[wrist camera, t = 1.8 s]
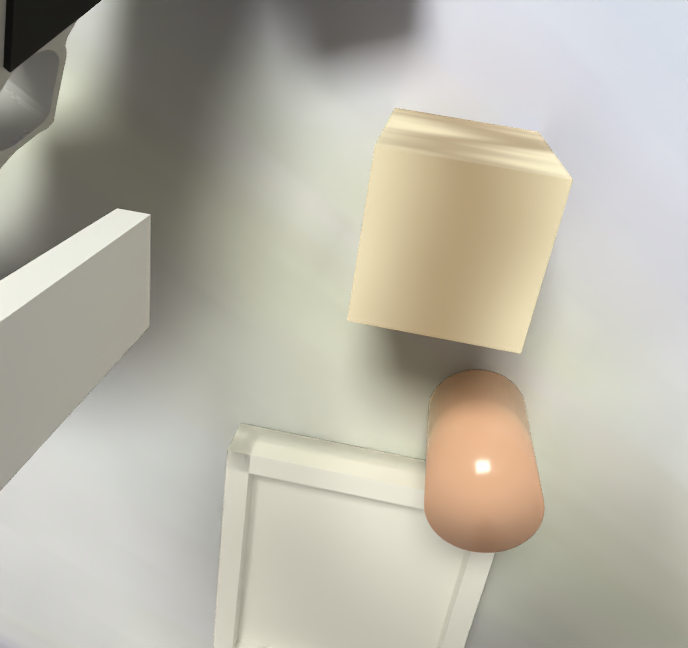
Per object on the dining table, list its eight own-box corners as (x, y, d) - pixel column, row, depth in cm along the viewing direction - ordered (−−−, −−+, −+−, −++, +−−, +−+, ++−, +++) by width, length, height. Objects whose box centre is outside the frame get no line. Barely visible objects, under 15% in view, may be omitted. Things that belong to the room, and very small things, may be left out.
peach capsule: (536, 380, 27) (559, 474, 21) (512, 458, 28) (526, 562, 23) (439, 361, 27) (436, 449, 22) (420, 440, 29) (414, 539, 23)
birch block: (538, 131, 23) (572, 180, 16) (502, 266, 25) (520, 353, 19) (394, 107, 23) (374, 145, 17) (372, 242, 25) (347, 320, 19)
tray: (506, 476, 29) (510, 507, 27) (441, 680, 35) (440, 716, 33) (240, 423, 30) (227, 449, 28) (223, 632, 36) (211, 664, 34)
